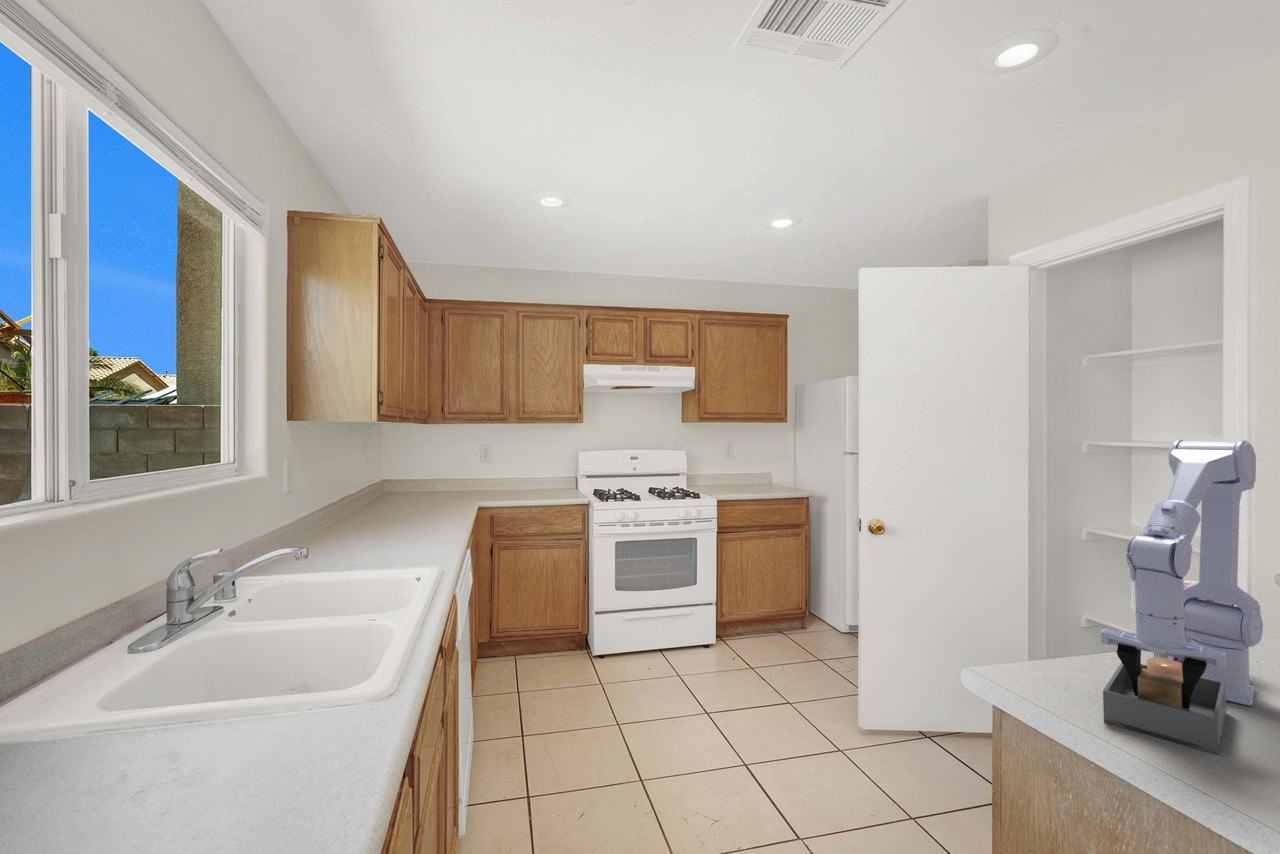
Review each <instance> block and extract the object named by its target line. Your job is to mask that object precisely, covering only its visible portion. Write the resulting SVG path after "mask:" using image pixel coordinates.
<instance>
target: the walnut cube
mask: <svg viewBox="0 0 1280 854" xmlns="http://www.w3.org/2000/svg"><path fill="white" fill-rule="evenodd" d="M1138 698H1139V699H1143V700H1147V701H1151V702H1155V703H1159V704H1162V705H1166V706H1170V707H1174V708H1178V709H1182V710H1186V708H1183V704H1182V700H1183V677H1180V676H1175V675H1171V674H1166V673H1162V672H1158V671H1153V670H1149V669H1144V668H1143V669H1142V671H1141V673H1140V674H1139V676H1138Z"/></svg>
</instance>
